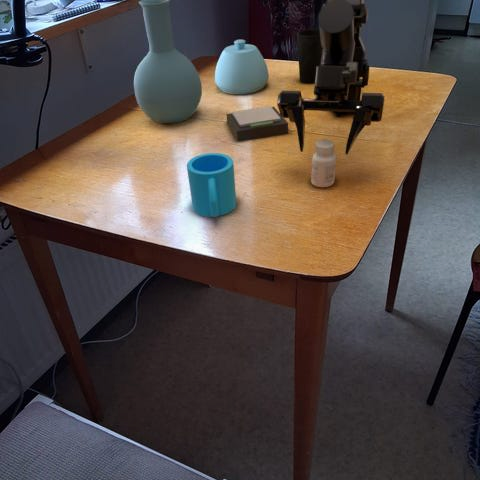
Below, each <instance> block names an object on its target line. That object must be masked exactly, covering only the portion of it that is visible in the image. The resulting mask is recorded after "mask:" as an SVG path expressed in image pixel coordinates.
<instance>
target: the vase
mask: <svg viewBox="0 0 480 480" xmlns="http://www.w3.org/2000/svg"><path fill="white" fill-rule="evenodd" d="M170 3H171V0H140V1H138V4H139V5H140V6H141V8H142V13H143V19H144V25H145V30H146V36H147V41H148V45H149V50H148V53H147V54H146V56H144V57H143V59H142V60H141V61H140V63H139V64H138V65H137V67H136V70H135V72H134V77H133V89H134V96H135V99H136V103H137V104H138V106H139V108H140V110H141V111H142V112H143V113H144V114H145V115H146V116H147V118H149V119H151V120H153V121H154V122H156V123H159V124H160V123H161V124H174V123H175V124H176V123H180V122H183V121H186V120H187V119H189V118H191V117H192V116H193V115H194V114H195V112H196V111H197V109H198V107H199V105H200V103H201V101H202V96H203V86H202V80H201V77H200V74H199V73H198V70H197V68H196V66H195V65H194V64H193V62H192V61H191V60H190V59H189V58H187V56H185V55H184V54H182V53H181V52H179V51H178V50H177V48H175V45H174V38H173V37H174V36H173V29H172V20H171V18H172V17H171V13H170V12H171V11H170V7H169V6H170V5H169V4H170Z"/></svg>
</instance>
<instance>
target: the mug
mask: <svg viewBox="0 0 480 480" xmlns="http://www.w3.org/2000/svg"><path fill="white" fill-rule="evenodd" d="M186 170H187V171H186V172H187V179H188V185H189V191H190V199H191V207H192V210H193V211H194V212H195V214H198V215H199V216H202V217H213V218H217V217H220V216H224V215H227V214H229V213H231V212H232V211H233V210H234V209H235V208H236V207H237V191H236V179H235V165H234V160H233V158H232V157H231V156H230V155H228V154H226V153H225V154H224V153H221V152H207V153H202V154H199V155H195V156H194V157H192V158H190V159H189V160H188V161H187V163H186Z"/></svg>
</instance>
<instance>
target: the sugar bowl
mask: <svg viewBox="0 0 480 480" xmlns="http://www.w3.org/2000/svg"><path fill="white" fill-rule="evenodd" d="M233 43H234V44H232V45H229V46H226V47H225V48H224V49H223V50H222V52H221V53H220V56H219V59H218V61H217V63H216V67H215V71H214V83H215V85H216V86H217V87H218V89H220V90H221V92H223V93H225V94H230V95H246V94H247V95H248V94H253V93H256V92H259V91H261V90H262V89H263V88H264V87H265V86H266V84H267V83H268V82H269V78H270V77H269V76H270V75H269V69H268V65H267V63H266V60H265V59H264V57H263V55H262V53H261V51H260V50H259V48H258V47H257V46H256V45H254V44H249V43H246V40H245V39H236V40H234V41H233Z"/></svg>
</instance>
